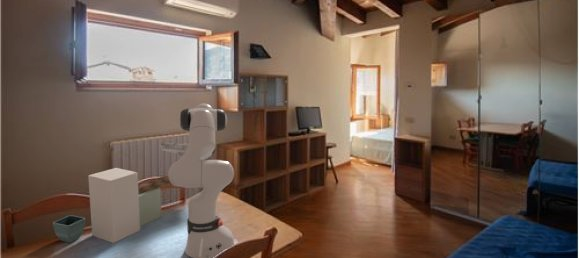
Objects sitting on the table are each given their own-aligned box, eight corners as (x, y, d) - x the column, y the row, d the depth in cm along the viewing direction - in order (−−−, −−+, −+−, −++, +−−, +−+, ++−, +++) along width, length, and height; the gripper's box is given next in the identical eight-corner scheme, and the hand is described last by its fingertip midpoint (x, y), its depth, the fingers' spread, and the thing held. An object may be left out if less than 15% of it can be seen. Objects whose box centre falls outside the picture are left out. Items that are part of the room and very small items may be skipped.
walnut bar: (166, 181, 190) (165, 175, 189) (171, 182, 188) (170, 177, 188) (131, 193, 170) (131, 187, 170) (136, 195, 169) (136, 189, 168)
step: (149, 213, 185) (148, 185, 182) (161, 216, 182) (160, 188, 179) (125, 224, 172) (124, 194, 169) (137, 227, 168) (135, 197, 166)
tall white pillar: (119, 223, 172) (116, 167, 167) (139, 230, 166) (137, 172, 161) (92, 235, 160) (88, 175, 155) (113, 242, 154) (110, 180, 149)
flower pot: (87, 236, 158) (85, 217, 157) (70, 245, 150) (68, 225, 149) (71, 233, 161) (69, 214, 159) (53, 242, 152) (51, 222, 151)
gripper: (171, 144, 203) (154, 137, 191) (200, 147, 195) (184, 139, 183) (168, 155, 202) (151, 148, 190) (197, 158, 193) (181, 151, 181)
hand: (167, 144), depth 186 cm, fingers open, 8 cm apart
